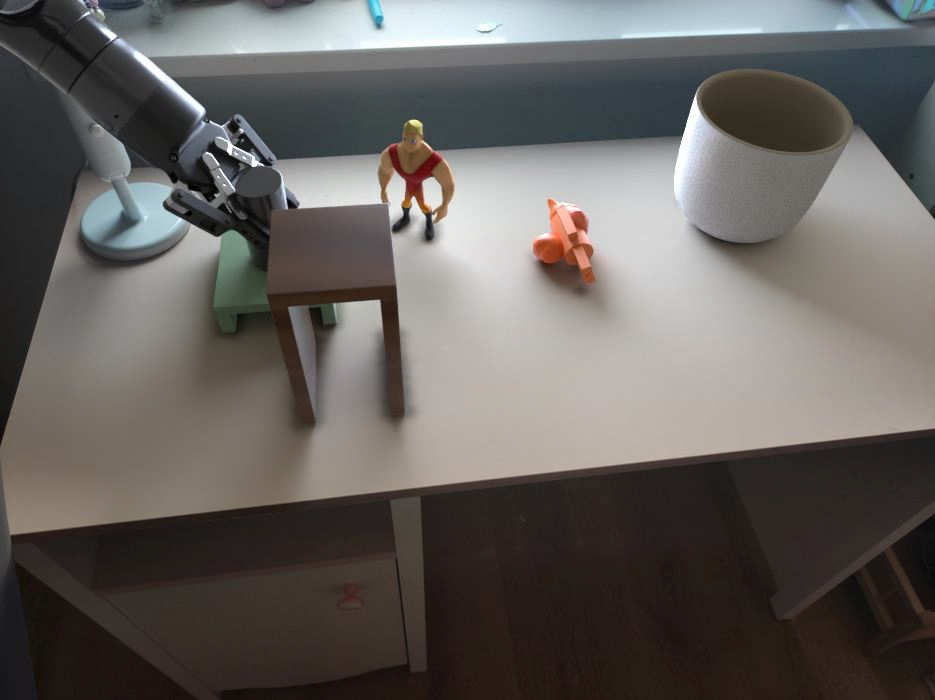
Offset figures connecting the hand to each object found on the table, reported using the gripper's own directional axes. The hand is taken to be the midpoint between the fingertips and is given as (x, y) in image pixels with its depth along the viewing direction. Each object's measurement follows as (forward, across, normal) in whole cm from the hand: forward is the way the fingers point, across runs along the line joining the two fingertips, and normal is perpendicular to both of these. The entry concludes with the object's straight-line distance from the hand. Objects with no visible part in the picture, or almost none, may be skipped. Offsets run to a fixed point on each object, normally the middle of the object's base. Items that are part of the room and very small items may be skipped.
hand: (283, 226), depth 73 cm
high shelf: (+13, -11, -1) cm, 17 cm away
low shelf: (+5, 0, +7) cm, 9 cm away
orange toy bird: (+26, +12, -14) cm, 32 cm away
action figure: (+13, +13, -1) cm, 18 cm away
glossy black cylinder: (+2, 0, +4) cm, 5 cm away
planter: (+40, +26, -28) cm, 55 cm away
